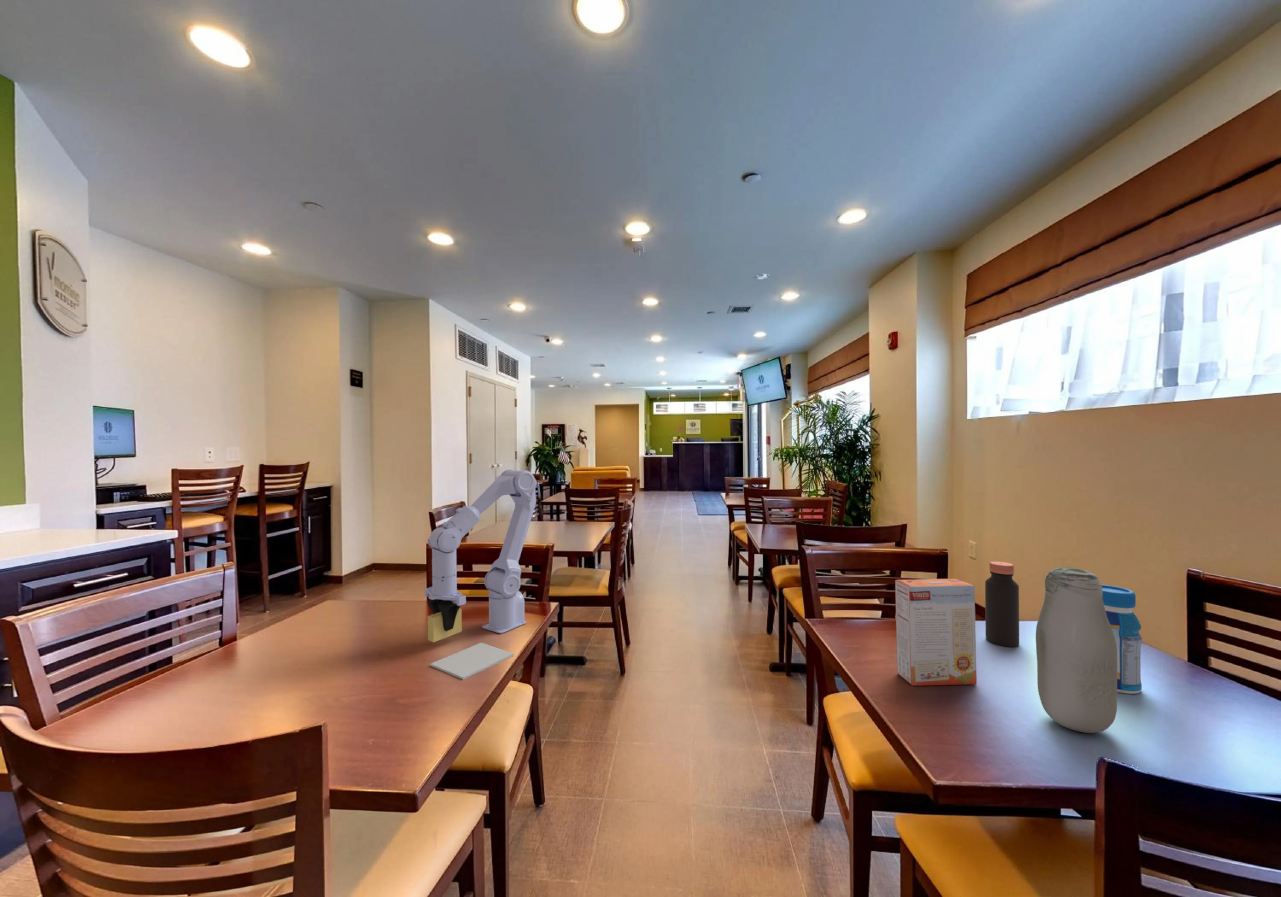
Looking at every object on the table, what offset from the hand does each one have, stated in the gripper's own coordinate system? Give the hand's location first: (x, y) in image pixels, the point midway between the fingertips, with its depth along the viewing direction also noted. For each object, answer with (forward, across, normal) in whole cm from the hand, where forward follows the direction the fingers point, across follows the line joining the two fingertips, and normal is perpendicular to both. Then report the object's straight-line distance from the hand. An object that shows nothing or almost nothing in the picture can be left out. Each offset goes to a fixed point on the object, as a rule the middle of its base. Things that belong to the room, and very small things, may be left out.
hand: (445, 628), depth 118 cm
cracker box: (+5, +105, +46) cm, 115 cm away
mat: (+4, +14, -2) cm, 15 cm away
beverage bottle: (+5, +136, +63) cm, 150 cm away
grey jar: (+5, +126, +39) cm, 132 cm away
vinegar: (+5, +119, +78) cm, 142 cm away
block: (+2, 0, 0) cm, 2 cm away
